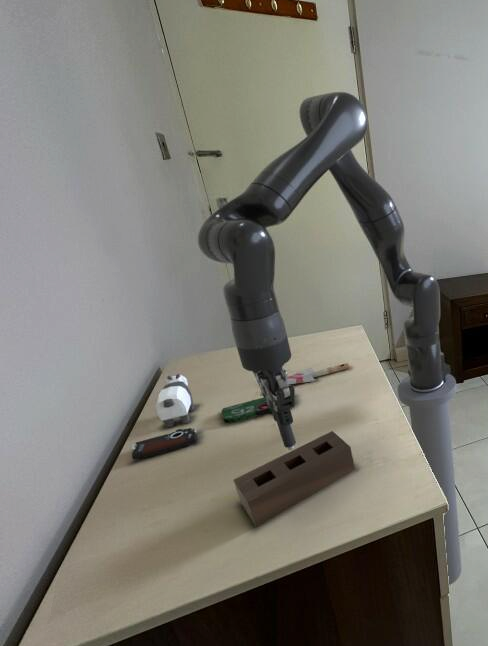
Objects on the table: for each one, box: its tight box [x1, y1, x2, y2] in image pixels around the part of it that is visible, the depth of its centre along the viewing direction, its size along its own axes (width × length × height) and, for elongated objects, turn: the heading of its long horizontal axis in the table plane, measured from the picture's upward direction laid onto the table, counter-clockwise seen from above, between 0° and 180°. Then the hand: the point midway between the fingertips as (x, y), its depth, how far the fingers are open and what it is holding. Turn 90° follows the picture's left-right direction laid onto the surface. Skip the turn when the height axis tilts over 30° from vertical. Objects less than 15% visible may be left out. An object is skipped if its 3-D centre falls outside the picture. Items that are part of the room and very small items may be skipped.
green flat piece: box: [221, 396, 296, 424], centre depth 104 cm, size 16×1×10 cm
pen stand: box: [232, 430, 356, 528], centre depth 79 cm, size 8×19×6 cm, turn 139°
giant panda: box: [155, 373, 196, 428], centre depth 102 cm, size 15×6×10 cm, turn 29°
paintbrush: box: [288, 362, 350, 385], centre depth 119 cm, size 4×3×20 cm
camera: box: [131, 427, 198, 461], centre depth 91 cm, size 6×3×11 cm
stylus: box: [270, 400, 297, 451], centre depth 74 cm, size 2×2×12 cm
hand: (283, 421), depth 74 cm, fingers closed on stylus, 2 cm apart
